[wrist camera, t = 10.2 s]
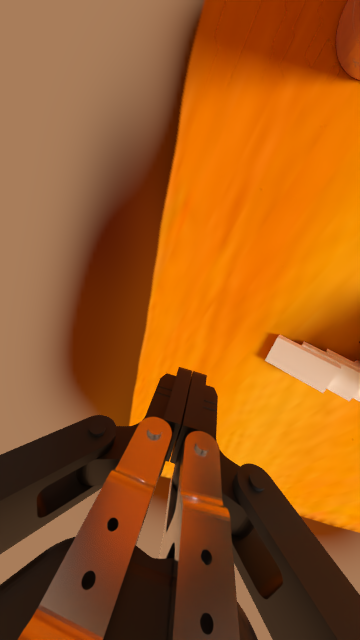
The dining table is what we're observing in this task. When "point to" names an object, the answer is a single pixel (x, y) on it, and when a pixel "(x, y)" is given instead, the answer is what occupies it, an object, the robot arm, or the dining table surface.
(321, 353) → the domino
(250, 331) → the dining table surface
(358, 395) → the domino
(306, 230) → the dining table surface
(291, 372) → the domino
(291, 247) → the dining table surface
